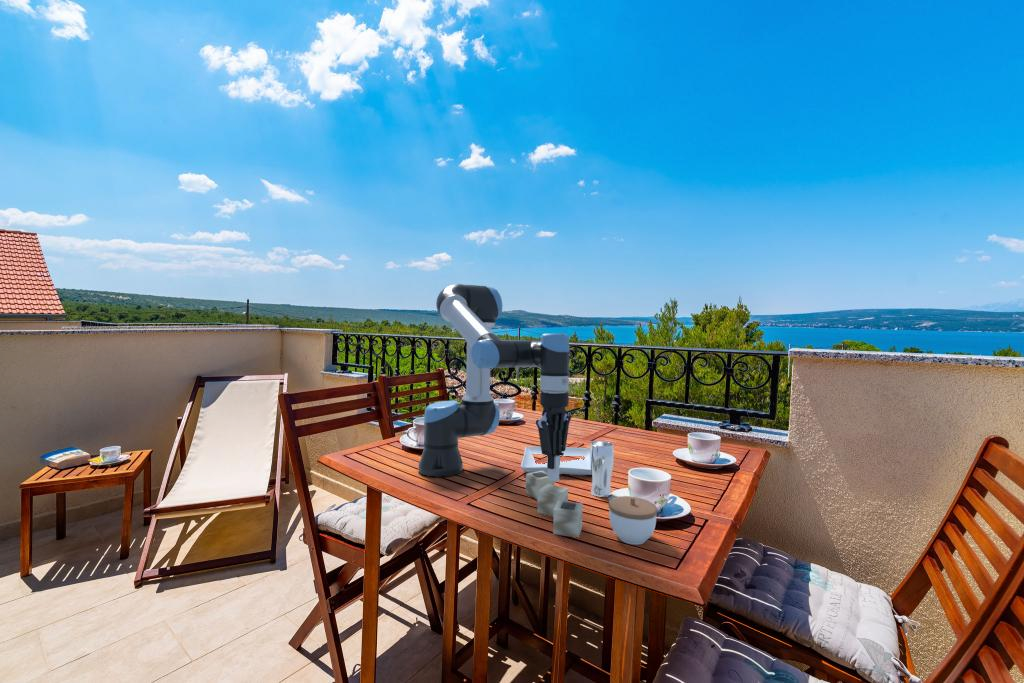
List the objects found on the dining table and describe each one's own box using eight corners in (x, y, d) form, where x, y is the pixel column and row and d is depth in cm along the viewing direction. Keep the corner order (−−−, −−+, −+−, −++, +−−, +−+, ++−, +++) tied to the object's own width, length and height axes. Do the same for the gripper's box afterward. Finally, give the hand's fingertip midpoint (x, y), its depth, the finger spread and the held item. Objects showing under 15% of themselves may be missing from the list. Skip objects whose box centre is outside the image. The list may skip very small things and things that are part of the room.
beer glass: (595, 499, 117) (596, 447, 117) (585, 490, 123) (585, 441, 123) (617, 497, 118) (618, 445, 118) (605, 488, 125) (606, 440, 125)
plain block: (537, 513, 107) (537, 490, 107) (547, 505, 112) (548, 483, 112) (557, 518, 104) (558, 495, 104) (567, 510, 109) (568, 488, 109)
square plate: (593, 457, 160) (593, 447, 160) (602, 481, 133) (602, 469, 133) (525, 454, 163) (525, 444, 163) (519, 477, 136) (520, 465, 136)
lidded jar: (648, 528, 99) (649, 489, 99) (663, 551, 88) (663, 508, 88) (604, 526, 100) (604, 488, 100) (613, 549, 89) (614, 506, 89)
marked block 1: (525, 493, 121) (525, 473, 121) (541, 489, 124) (542, 469, 124) (537, 500, 116) (537, 479, 116) (553, 496, 119) (554, 475, 119)
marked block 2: (553, 534, 96) (553, 508, 96) (557, 523, 101) (558, 499, 101) (578, 538, 94) (579, 512, 94) (582, 526, 100) (582, 502, 100)
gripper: (551, 395, 101) (549, 490, 101) (579, 390, 110) (578, 477, 110) (527, 392, 106) (526, 482, 106) (557, 388, 115) (556, 471, 115)
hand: (553, 479), depth 108 cm, fingers closed
